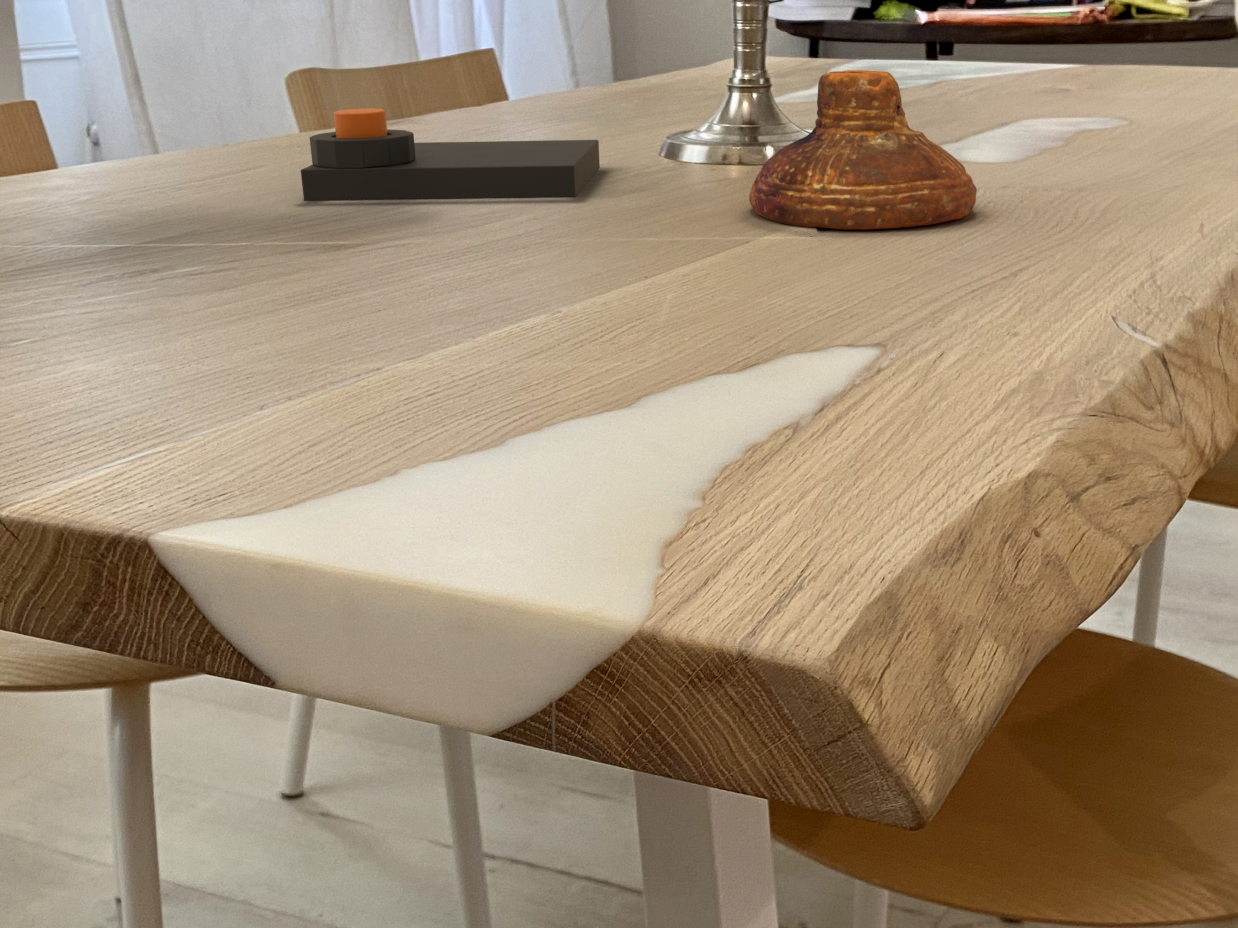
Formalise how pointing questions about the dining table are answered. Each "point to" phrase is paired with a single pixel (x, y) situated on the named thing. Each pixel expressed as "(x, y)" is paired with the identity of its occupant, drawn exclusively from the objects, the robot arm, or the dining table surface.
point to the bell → (862, 165)
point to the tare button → (360, 123)
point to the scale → (445, 168)
